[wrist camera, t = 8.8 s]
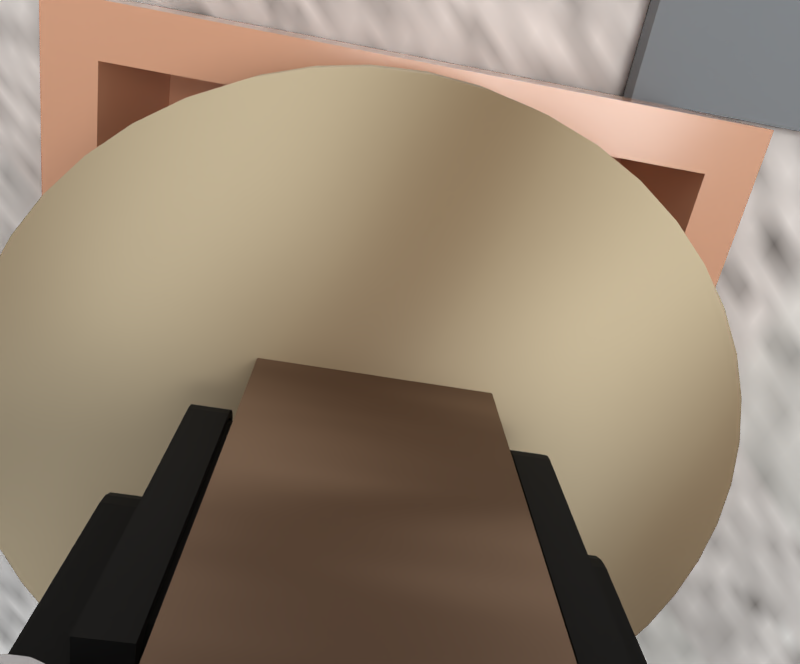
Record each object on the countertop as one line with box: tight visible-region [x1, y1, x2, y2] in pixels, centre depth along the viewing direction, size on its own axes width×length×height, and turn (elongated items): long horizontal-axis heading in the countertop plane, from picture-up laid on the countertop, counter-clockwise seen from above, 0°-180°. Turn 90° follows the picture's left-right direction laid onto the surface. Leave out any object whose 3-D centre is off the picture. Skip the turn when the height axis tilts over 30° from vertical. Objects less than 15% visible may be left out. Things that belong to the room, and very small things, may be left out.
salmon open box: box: [39, 0, 774, 287], centre depth 16 cm, size 12×12×5 cm
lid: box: [0, 65, 741, 664], centre depth 9 cm, size 12×12×7 cm
